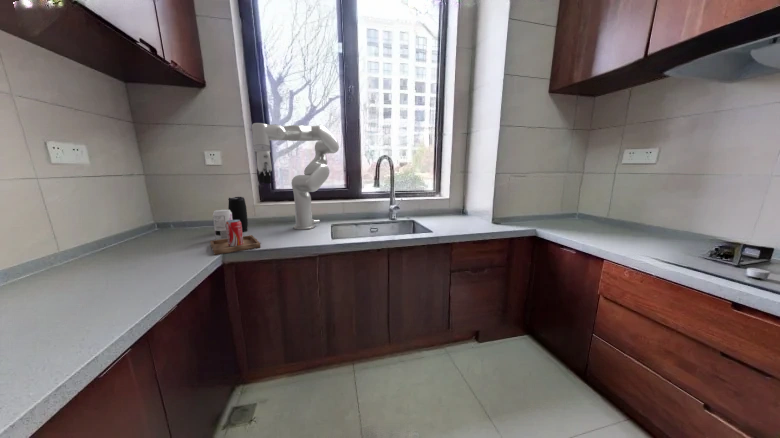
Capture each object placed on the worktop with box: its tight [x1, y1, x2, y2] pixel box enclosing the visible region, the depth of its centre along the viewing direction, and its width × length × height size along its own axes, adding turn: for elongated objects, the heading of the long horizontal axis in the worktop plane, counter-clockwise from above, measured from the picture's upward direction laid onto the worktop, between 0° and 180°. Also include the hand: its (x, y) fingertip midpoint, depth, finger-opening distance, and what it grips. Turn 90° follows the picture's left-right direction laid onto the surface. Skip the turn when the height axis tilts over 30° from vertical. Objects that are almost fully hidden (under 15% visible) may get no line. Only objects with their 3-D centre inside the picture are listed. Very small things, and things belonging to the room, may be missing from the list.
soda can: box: [226, 220, 244, 247], centre depth 125 cm, size 6×6×12 cm
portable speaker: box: [227, 196, 249, 232], centre depth 154 cm, size 9×9×20 cm
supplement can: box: [212, 208, 233, 240], centre depth 137 cm, size 8×8×15 cm
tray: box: [209, 234, 262, 256], centre depth 126 cm, size 18×18×2 cm
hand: (265, 182), depth 140 cm, fingers open, 9 cm apart
